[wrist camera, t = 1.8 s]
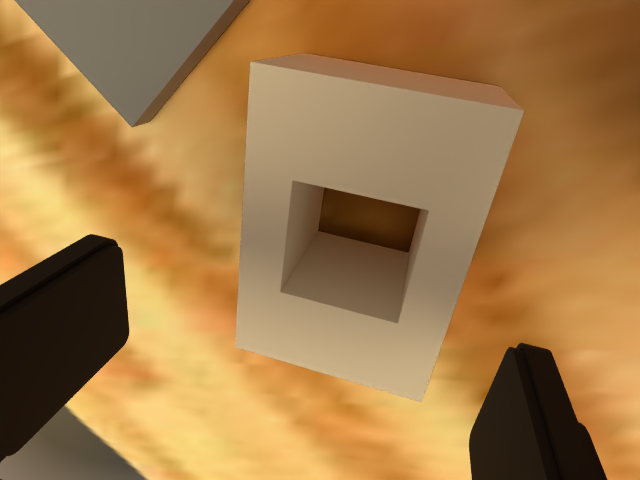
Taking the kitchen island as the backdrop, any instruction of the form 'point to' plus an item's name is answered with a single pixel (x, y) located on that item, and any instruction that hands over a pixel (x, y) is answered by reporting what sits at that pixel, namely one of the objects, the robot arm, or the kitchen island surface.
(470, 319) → the kitchen island surface
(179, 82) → the pin plate
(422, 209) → the flange block
